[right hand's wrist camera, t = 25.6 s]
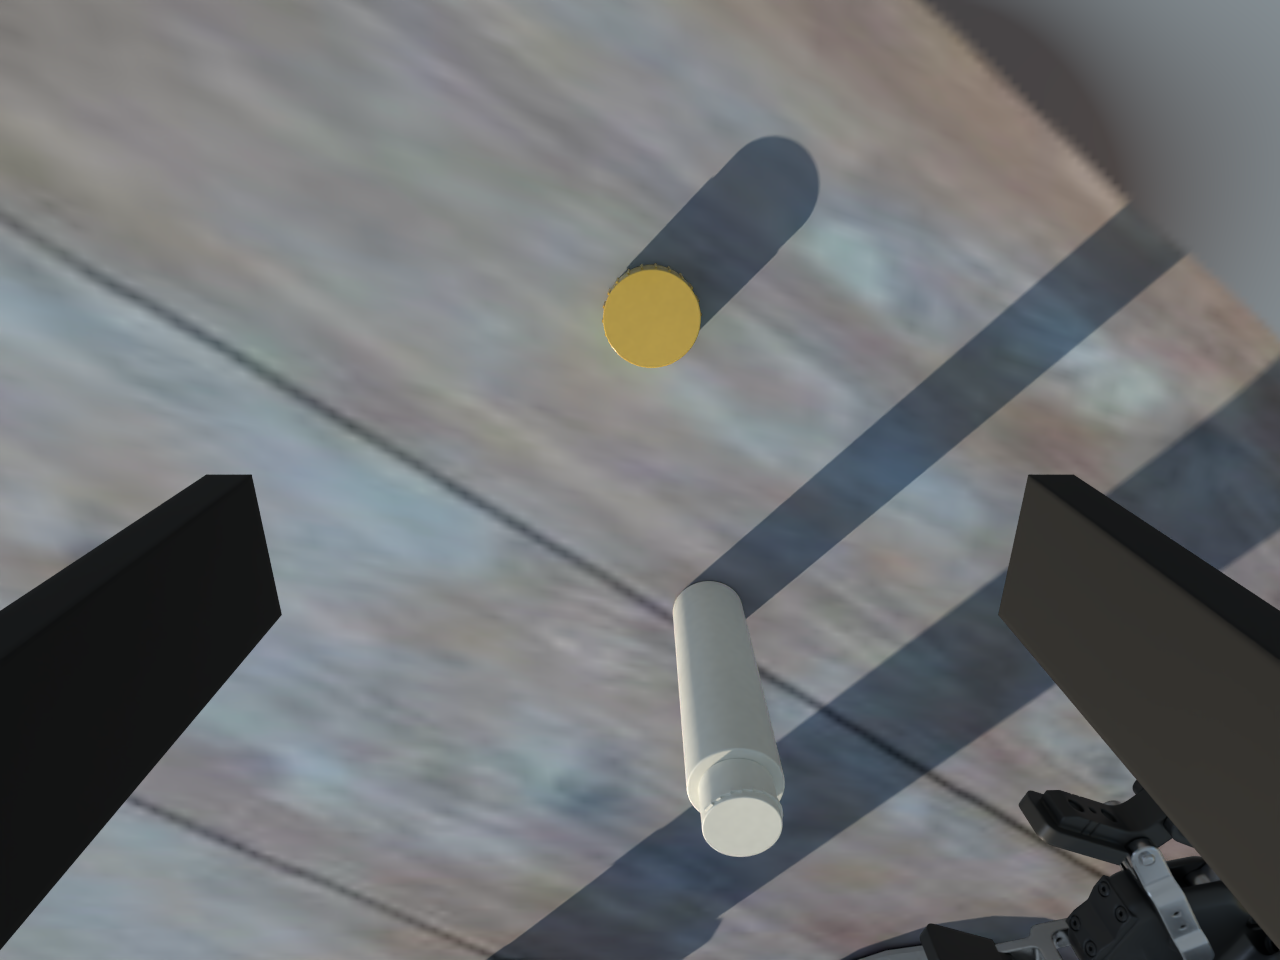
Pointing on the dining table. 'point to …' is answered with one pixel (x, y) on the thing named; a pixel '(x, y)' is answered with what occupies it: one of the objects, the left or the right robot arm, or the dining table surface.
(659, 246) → the dining table surface
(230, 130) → the dining table surface
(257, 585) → the right robot arm
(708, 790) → the jar
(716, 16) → the dining table surface
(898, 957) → the wall clock
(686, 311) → the lid
